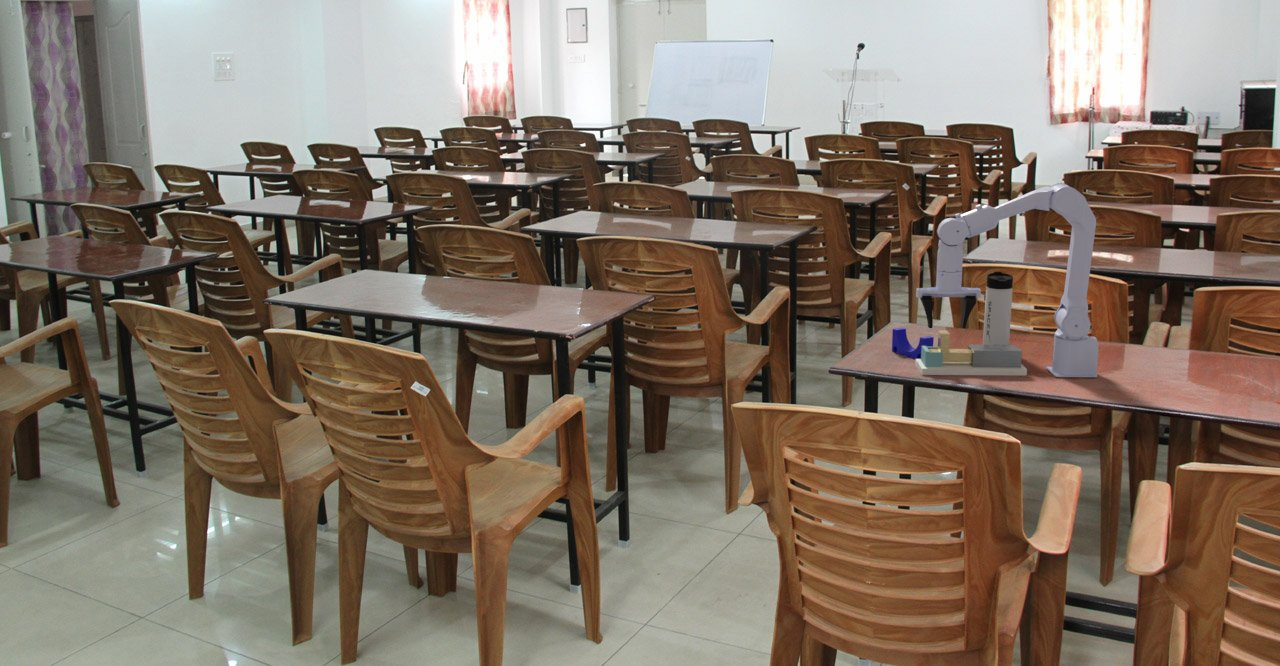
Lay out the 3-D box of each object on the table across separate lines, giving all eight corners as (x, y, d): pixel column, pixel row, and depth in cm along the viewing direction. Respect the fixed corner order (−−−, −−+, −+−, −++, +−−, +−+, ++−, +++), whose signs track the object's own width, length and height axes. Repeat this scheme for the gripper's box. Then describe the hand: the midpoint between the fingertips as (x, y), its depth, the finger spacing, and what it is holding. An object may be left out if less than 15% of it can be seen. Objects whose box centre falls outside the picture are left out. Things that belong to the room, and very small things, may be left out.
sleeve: (1014, 360, 266) (1015, 344, 265) (1020, 367, 260) (1022, 350, 260) (967, 360, 267) (968, 344, 266) (972, 367, 261) (973, 350, 260)
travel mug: (1005, 348, 284) (1010, 271, 279) (1010, 355, 277) (1016, 276, 273) (979, 348, 284) (984, 271, 280) (985, 355, 278) (989, 276, 273)
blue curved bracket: (937, 360, 275) (938, 336, 273) (922, 362, 273) (923, 338, 271) (905, 349, 285) (906, 326, 284) (891, 351, 283) (892, 328, 282)
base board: (1016, 365, 268) (1017, 359, 268) (1026, 375, 259) (1027, 369, 259) (915, 364, 270) (915, 358, 269) (921, 374, 261) (922, 368, 261)
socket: (937, 360, 267) (938, 345, 267) (942, 366, 262) (943, 351, 261) (920, 360, 268) (921, 345, 267) (925, 366, 262) (925, 351, 261)
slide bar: (990, 359, 265) (992, 330, 264) (994, 363, 262) (995, 334, 260) (926, 358, 266) (927, 330, 265) (929, 362, 263) (930, 334, 261)
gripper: (977, 267, 263) (974, 323, 266) (914, 267, 264) (912, 323, 267) (984, 272, 256) (980, 330, 259) (920, 272, 257) (917, 330, 260)
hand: (946, 327), depth 263 cm, fingers open, 7 cm apart
